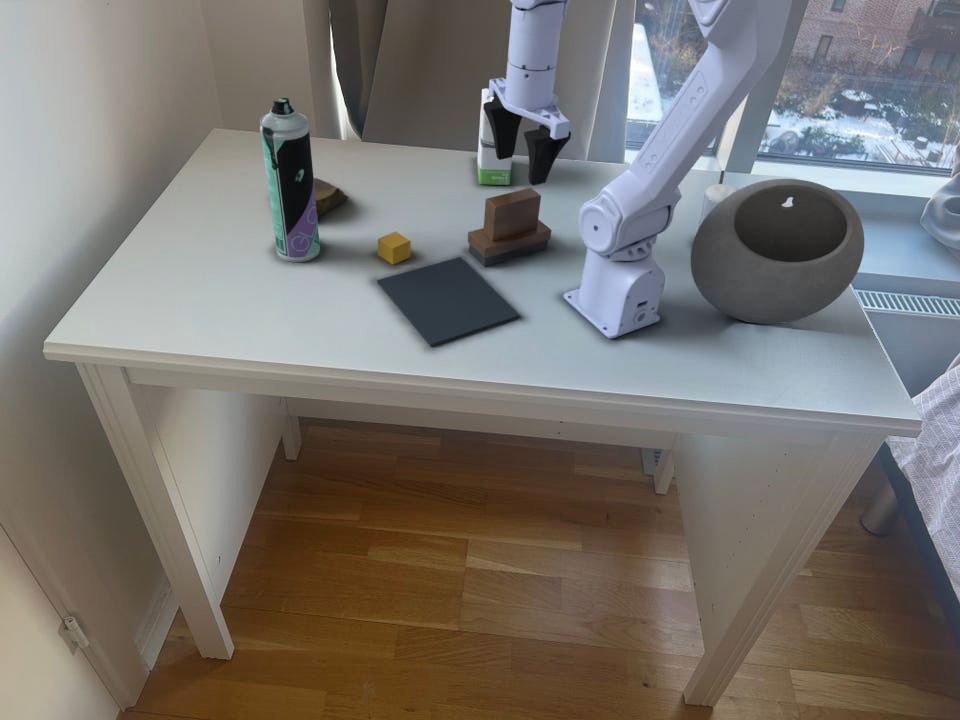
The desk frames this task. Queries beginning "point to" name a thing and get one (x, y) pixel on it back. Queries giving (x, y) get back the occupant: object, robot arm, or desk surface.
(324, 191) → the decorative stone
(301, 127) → the spray can
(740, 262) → the planter
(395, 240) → the mustard wooden cube
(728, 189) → the milkshake
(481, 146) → the ink box
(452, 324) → the mat
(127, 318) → the desk surface
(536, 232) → the brush
